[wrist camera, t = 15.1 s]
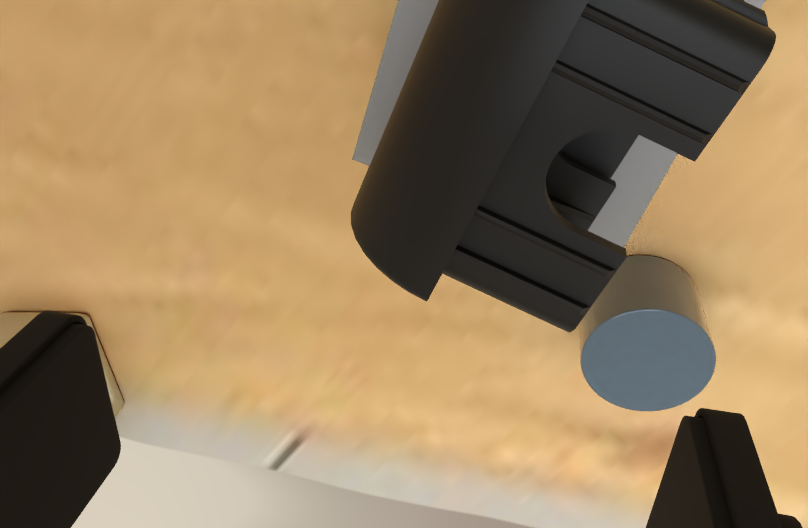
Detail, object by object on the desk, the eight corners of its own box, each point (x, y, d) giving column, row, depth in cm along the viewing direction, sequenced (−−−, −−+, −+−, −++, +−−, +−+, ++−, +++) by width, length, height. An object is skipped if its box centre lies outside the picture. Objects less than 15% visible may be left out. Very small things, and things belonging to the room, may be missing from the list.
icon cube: (716, -67, 28) (782, -30, 19) (603, 154, 33) (617, 258, 25) (480, -154, 28) (443, -156, 19) (406, 80, 33) (352, 159, 25)
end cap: (507, -140, 19) (482, -136, 14) (736, -27, 20) (806, 23, 14) (378, 163, 25) (322, 258, 19) (559, 248, 25) (557, 367, 19)
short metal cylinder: (570, 340, 39) (570, 400, 35) (590, 246, 36) (593, 299, 31) (682, 357, 38) (696, 421, 34) (712, 263, 35) (732, 320, 31)
